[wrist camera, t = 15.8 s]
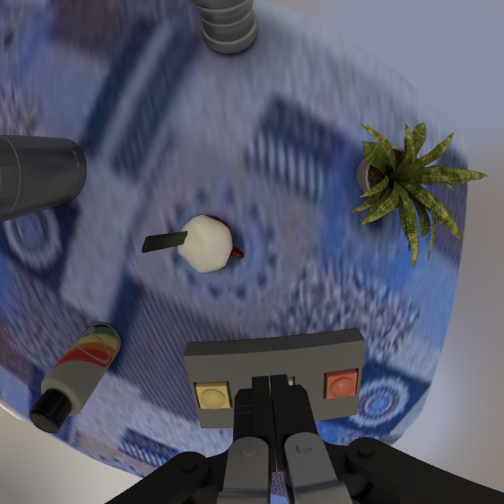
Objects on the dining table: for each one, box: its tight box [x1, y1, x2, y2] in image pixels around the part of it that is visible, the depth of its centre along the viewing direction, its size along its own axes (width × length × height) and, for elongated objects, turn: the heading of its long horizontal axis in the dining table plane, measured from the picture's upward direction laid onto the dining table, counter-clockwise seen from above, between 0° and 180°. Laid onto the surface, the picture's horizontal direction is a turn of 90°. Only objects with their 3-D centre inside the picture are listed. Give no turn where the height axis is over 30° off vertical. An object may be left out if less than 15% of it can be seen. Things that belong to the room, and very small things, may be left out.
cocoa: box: [142, 214, 244, 273], centre depth 34 cm, size 10×6×12 cm, turn 44°
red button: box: [324, 368, 357, 399], centre depth 43 cm, size 4×4×4 cm
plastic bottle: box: [189, 0, 259, 54], centre depth 24 cm, size 6×7×20 cm
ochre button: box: [196, 381, 231, 409], centre depth 43 cm, size 4×4×4 cm
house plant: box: [351, 122, 487, 268], centre depth 30 cm, size 14×14×16 cm
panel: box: [183, 328, 365, 428], centre depth 44 cm, size 24×14×4 cm, turn 95°
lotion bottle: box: [30, 322, 121, 433], centre depth 34 cm, size 6×6×20 cm
